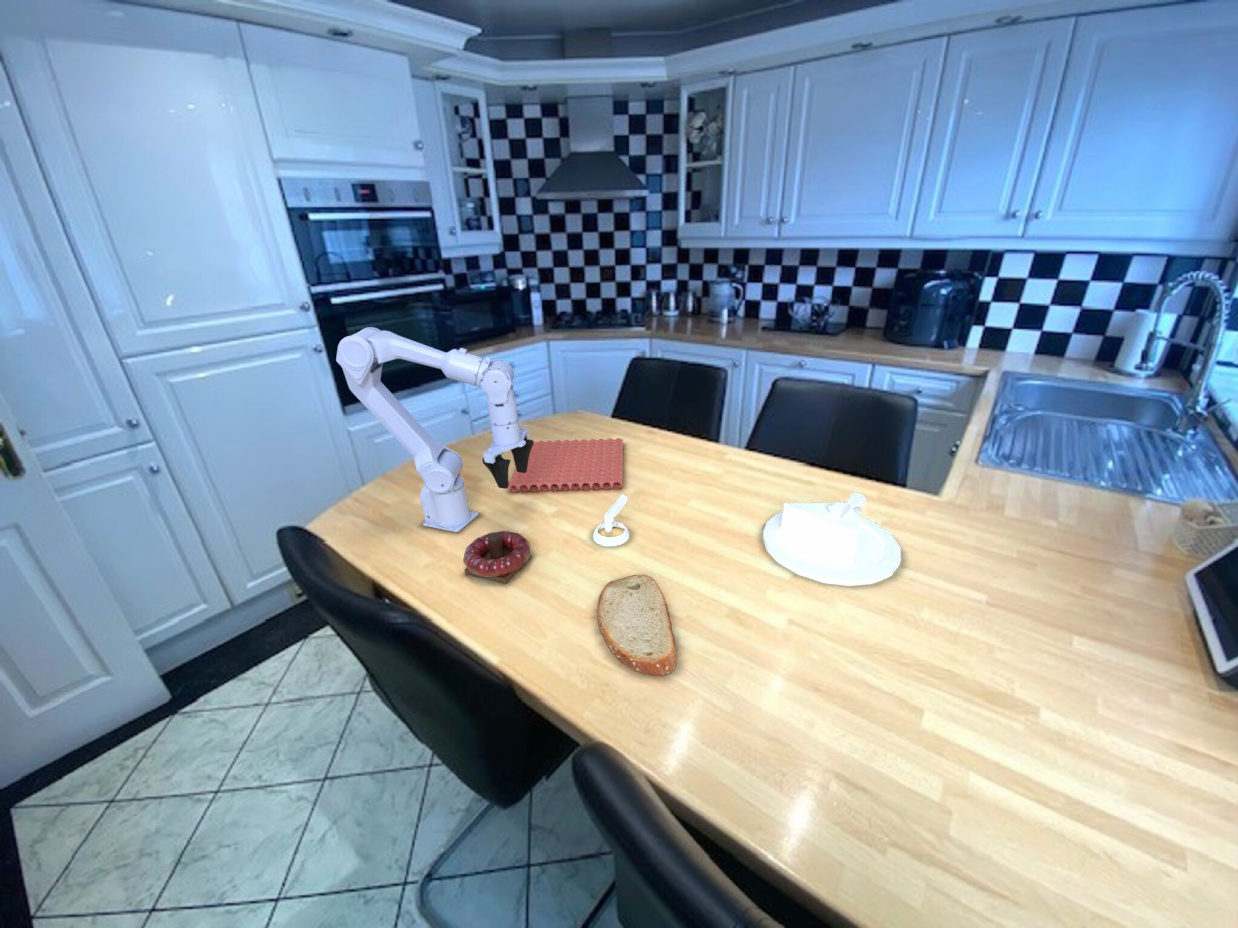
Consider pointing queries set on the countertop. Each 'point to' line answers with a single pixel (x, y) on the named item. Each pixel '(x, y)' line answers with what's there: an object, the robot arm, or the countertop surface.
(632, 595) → the bread slice
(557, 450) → the egg carton
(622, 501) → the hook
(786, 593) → the countertop surface
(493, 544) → the post
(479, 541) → the ring
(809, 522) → the dish
